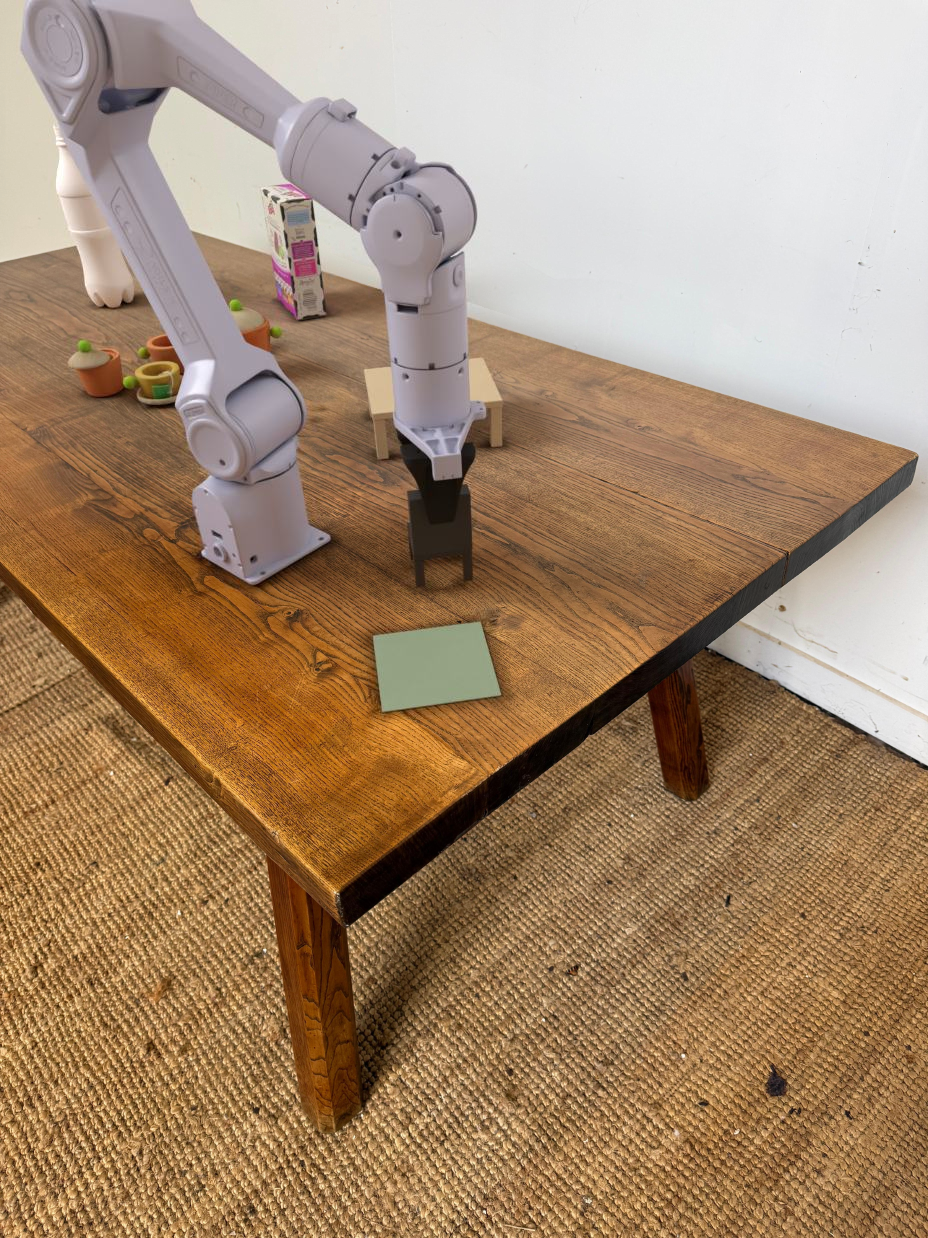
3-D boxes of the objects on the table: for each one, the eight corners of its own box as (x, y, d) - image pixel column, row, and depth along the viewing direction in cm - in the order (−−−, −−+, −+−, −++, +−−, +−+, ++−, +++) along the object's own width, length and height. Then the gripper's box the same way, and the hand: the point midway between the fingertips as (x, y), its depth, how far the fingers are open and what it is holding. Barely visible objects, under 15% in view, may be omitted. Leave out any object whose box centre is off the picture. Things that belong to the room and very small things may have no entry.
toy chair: (474, 583, 76) (470, 493, 71) (417, 590, 76) (409, 500, 70) (464, 549, 81) (460, 461, 75) (410, 555, 80) (401, 468, 75)
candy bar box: (329, 315, 131) (314, 197, 121) (297, 321, 130) (278, 202, 120) (307, 294, 139) (291, 181, 129) (277, 299, 138) (257, 185, 128)
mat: (501, 696, 66) (501, 695, 66) (382, 712, 65) (382, 711, 65) (480, 622, 73) (480, 621, 73) (372, 636, 72) (372, 635, 72)
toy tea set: (250, 337, 126) (237, 267, 120) (302, 370, 116) (290, 296, 110) (67, 388, 114) (42, 313, 108) (106, 429, 104) (81, 350, 98)
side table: (503, 446, 97) (502, 399, 94) (377, 460, 96) (371, 413, 92) (484, 400, 106) (483, 356, 103) (368, 413, 105) (363, 368, 102)
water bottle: (81, 308, 138) (26, 129, 122) (108, 293, 143) (58, 119, 128) (121, 311, 136) (69, 129, 121) (146, 296, 142) (100, 119, 126)
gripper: (502, 389, 59) (504, 557, 67) (467, 314, 70) (472, 466, 79) (397, 400, 58) (413, 568, 67) (378, 323, 69) (394, 475, 78)
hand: (439, 514), depth 72 cm, fingers closed on toy chair
